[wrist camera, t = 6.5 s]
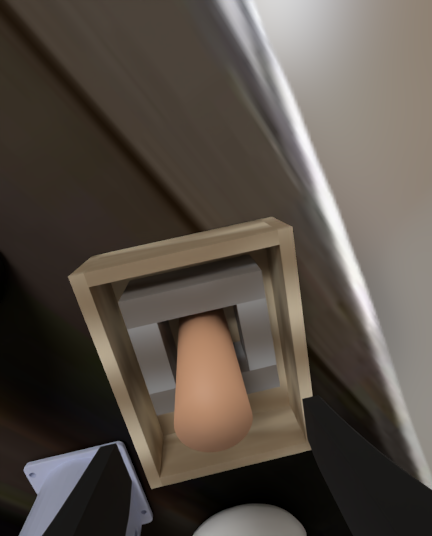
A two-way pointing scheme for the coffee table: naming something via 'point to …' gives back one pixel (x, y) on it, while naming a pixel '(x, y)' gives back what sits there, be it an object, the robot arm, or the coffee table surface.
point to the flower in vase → (251, 522)
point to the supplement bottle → (2, 280)
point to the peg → (209, 385)
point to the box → (166, 338)
